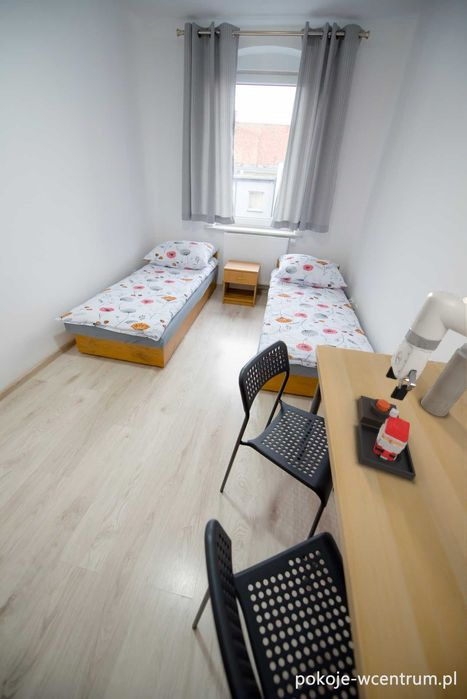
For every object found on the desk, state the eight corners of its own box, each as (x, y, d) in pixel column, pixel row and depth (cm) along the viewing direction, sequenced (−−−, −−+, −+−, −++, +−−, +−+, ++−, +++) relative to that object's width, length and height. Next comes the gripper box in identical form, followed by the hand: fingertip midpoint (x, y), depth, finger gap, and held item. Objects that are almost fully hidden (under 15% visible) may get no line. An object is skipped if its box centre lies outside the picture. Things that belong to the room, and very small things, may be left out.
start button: (387, 405, 87) (389, 401, 86) (388, 413, 84) (391, 409, 83) (375, 401, 88) (377, 397, 87) (376, 409, 85) (378, 405, 84)
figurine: (398, 468, 72) (420, 439, 65) (370, 454, 75) (388, 425, 68) (401, 446, 78) (422, 417, 72) (375, 434, 81) (393, 405, 74)
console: (392, 410, 91) (398, 401, 89) (397, 433, 83) (404, 423, 81) (358, 401, 94) (362, 391, 91) (359, 422, 86) (365, 412, 83)
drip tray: (402, 441, 81) (406, 436, 80) (411, 480, 71) (416, 475, 69) (356, 427, 84) (359, 422, 82) (359, 463, 73) (362, 458, 72)
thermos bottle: (446, 406, 96) (498, 338, 80) (446, 420, 90) (503, 350, 75) (421, 396, 99) (466, 329, 84) (420, 408, 94) (468, 339, 78)
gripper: (400, 321, 79) (376, 367, 89) (414, 352, 65) (383, 403, 75) (429, 327, 78) (401, 374, 88) (448, 361, 64) (413, 412, 74)
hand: (393, 387), depth 81 cm, fingers open, 9 cm apart
